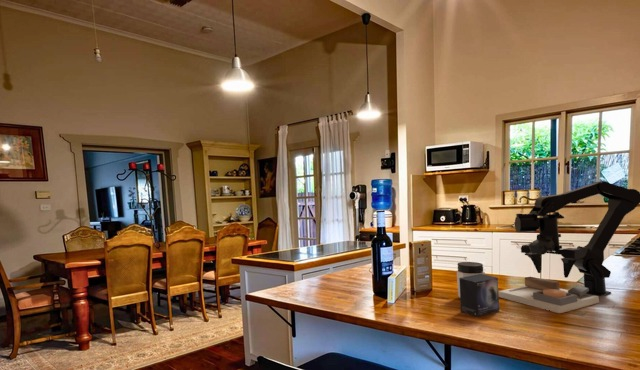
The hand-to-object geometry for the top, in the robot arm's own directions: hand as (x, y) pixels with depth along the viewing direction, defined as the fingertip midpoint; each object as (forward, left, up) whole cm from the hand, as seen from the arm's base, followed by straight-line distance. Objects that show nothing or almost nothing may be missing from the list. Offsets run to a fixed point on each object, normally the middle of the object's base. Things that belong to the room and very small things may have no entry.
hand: (552, 275), depth 119 cm
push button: (+15, +10, -3) cm, 18 cm away
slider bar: (+6, 0, -4) cm, 7 cm away
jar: (+29, -10, -6) cm, 31 cm away
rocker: (+4, +10, -3) cm, 12 cm away
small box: (+38, +1, -6) cm, 38 cm away
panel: (+10, +4, -6) cm, 12 cm away
